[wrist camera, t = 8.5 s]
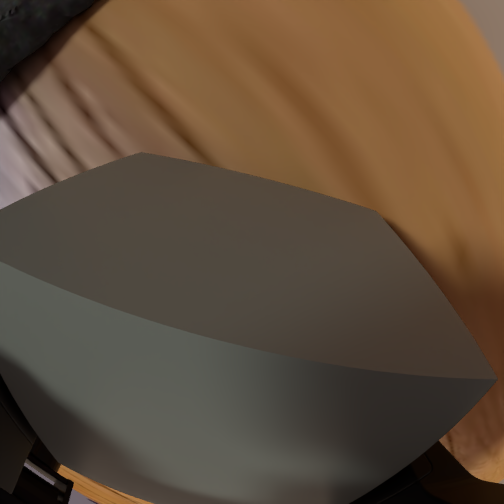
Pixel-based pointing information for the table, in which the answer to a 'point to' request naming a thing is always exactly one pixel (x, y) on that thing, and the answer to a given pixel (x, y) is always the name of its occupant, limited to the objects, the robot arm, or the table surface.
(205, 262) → the grey angular block
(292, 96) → the table surface
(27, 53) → the dark slate chunk
